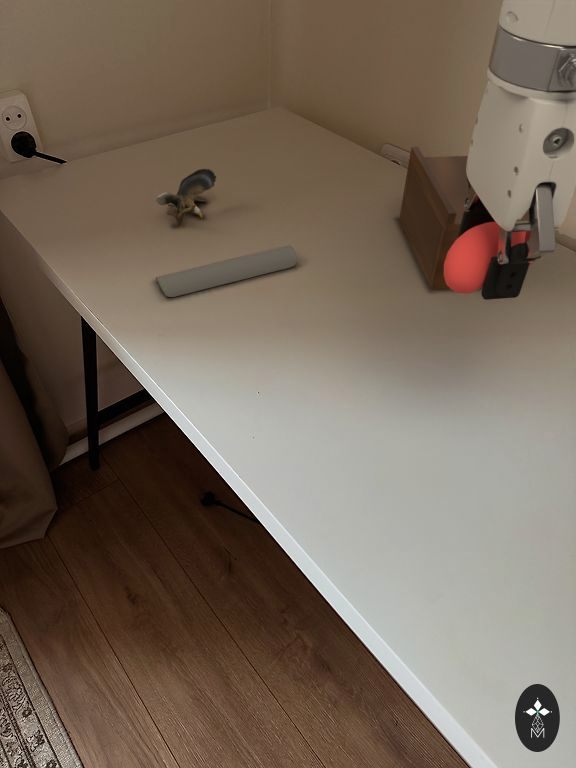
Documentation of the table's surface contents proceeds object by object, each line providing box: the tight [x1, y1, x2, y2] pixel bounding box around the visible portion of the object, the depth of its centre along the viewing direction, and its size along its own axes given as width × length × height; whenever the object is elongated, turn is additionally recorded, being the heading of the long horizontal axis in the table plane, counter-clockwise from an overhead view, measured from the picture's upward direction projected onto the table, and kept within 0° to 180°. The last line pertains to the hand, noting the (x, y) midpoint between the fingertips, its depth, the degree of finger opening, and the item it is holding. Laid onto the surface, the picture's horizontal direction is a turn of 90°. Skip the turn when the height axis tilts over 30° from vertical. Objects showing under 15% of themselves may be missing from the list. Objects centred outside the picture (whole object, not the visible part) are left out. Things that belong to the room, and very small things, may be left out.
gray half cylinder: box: [155, 244, 298, 298], centre depth 86 cm, size 4×20×2 cm, turn 115°
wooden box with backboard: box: [398, 146, 529, 291], centre depth 88 cm, size 12×18×12 cm, turn 7°
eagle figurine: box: [155, 168, 217, 228], centre depth 96 cm, size 8×7×9 cm
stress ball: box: [444, 222, 534, 295], centre depth 55 cm, size 5×9×6 cm, turn 111°
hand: (485, 271), depth 56 cm, fingers closed on stress ball, 6 cm apart
